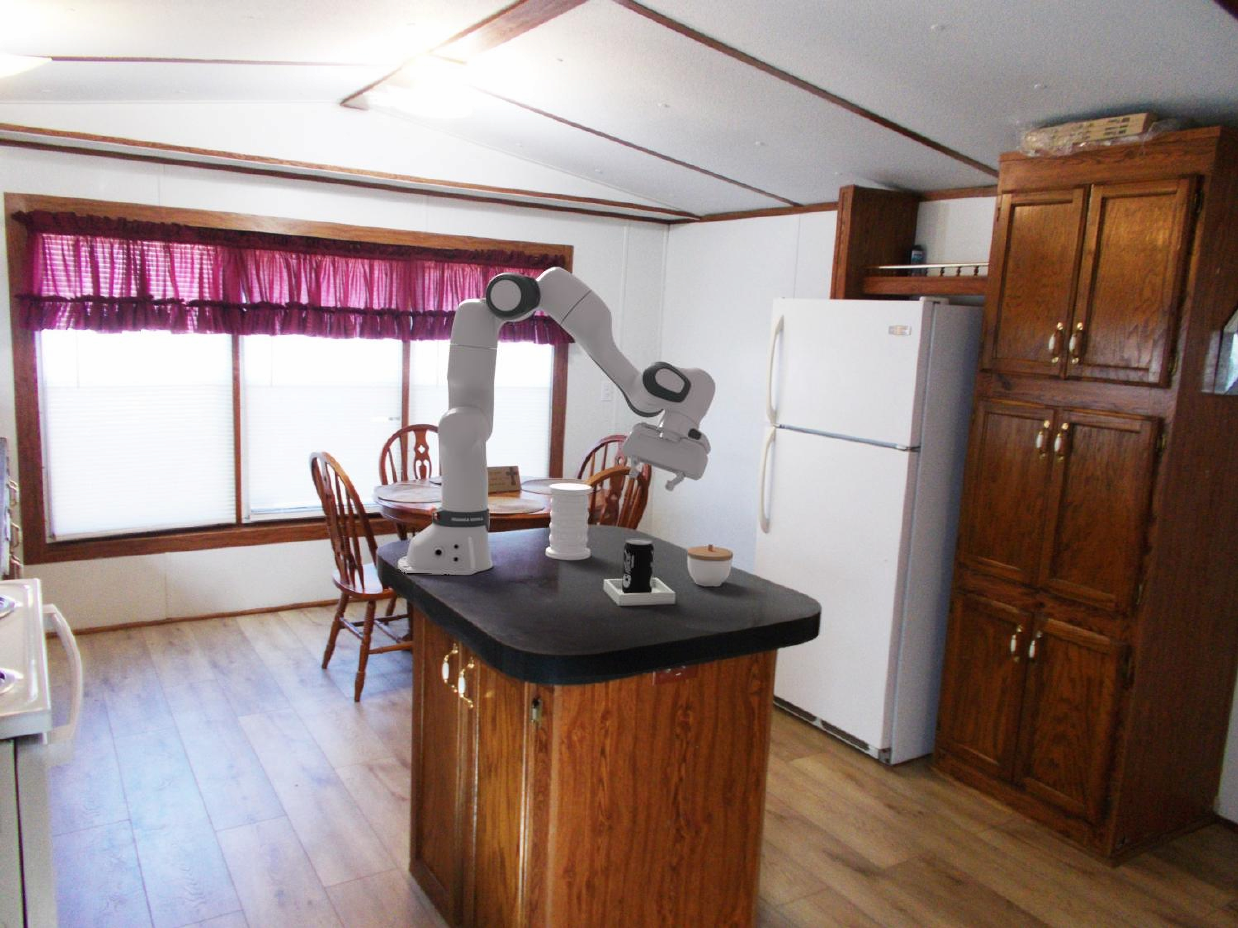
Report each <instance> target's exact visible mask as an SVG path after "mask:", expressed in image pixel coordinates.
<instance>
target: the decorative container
mask: <svg viewBox="0 0 1238 928" xmlns="http://www.w3.org/2000/svg"><path fill="white" fill-rule="evenodd" d="M549 492H550V493H551V498H550V501H549V503H550V506H551V507H550V509H551V510H550V512H549V516H550V522H549V524H548V525H549V530H550V533H549V537H548V540H549V546H548V547H547V548H546V549H545V555H546V556H547V557H549V558H550V559H555V560H561V561H579V560H585V559H588V558H590V557H591V549H589V547H588V548H587V543H588V542H589V536H588V531H589V523H588V520H589V517H590V512H589V506H590V498H589V494H592V486H591V485H588V484H583V483H575V482H574V483H573V482H572V483H568V482H565V483H563V482H561V483H553V484H550V485H549Z"/></svg>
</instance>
